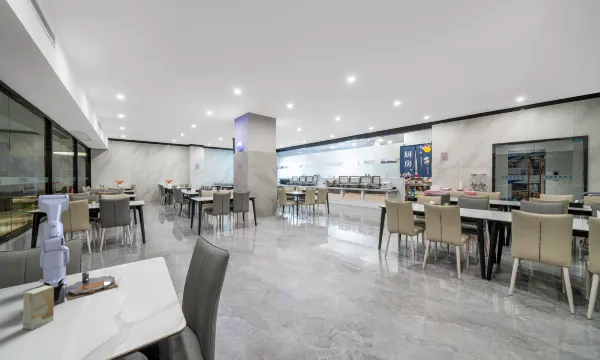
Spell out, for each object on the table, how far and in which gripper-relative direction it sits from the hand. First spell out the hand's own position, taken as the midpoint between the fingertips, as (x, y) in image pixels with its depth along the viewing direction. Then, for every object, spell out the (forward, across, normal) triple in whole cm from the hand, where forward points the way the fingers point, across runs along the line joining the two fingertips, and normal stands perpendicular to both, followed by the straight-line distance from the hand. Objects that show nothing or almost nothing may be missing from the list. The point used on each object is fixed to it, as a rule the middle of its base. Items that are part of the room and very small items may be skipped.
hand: (54, 299), depth 98 cm
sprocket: (+1, -8, +12) cm, 15 cm away
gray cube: (+1, 0, 0) cm, 1 cm away
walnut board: (+1, -8, +12) cm, 15 cm away
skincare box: (+2, +16, -4) cm, 17 cm away
